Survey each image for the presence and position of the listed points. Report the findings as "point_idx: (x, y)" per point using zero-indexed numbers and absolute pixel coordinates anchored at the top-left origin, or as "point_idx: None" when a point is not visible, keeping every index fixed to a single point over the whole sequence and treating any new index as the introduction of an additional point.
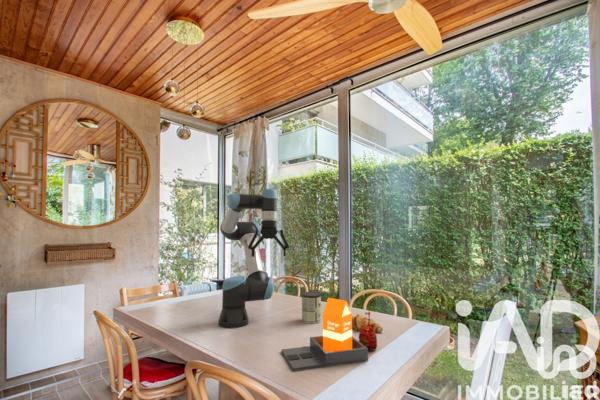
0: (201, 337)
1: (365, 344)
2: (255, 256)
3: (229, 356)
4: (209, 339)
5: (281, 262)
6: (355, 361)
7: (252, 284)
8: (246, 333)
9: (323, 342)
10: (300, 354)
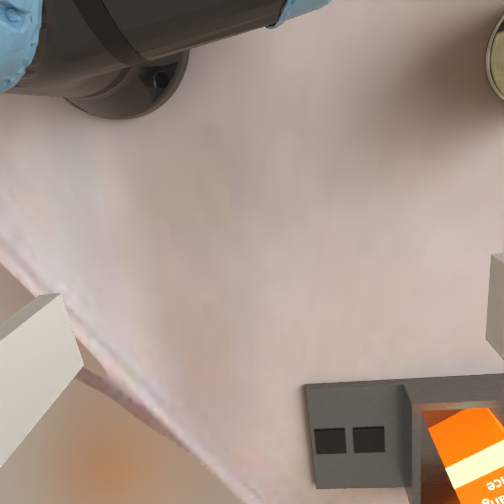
0: (25, 212)
1: None
2: (4, 449)
3: (154, 380)
4: (61, 238)
5: (490, 311)
6: None
7: (136, 21)
8: (190, 198)
9: (439, 453)
10: (354, 433)
